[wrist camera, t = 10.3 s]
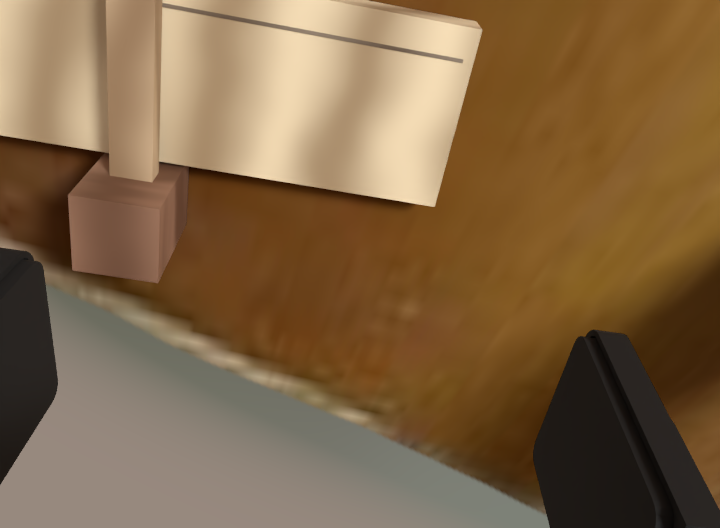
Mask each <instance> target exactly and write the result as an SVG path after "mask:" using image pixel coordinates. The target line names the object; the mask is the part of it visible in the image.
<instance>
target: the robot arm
mask: <svg viewBox="0 0 720 528" xmlns="http://www.w3.org/2000/svg"><path fill="white" fill-rule="evenodd" d="M57 386H58V378H57V370H56V362H55V355H54V347H53V339H52V333H51V324H50V317H49V308H48V301H47V293H46V285H45V278H44V270H43V266H42V264H41V263H40V262H38V261H34V259H33V257H32V255H31V253H29V252H27V251H20V250H13V249H6V248H0V484H1V483H2V481H3V479H4V477H5V476H6V475H7V473H8V471H9V470H10V468H11V467H12V465H13V464H14V462H15V460H16V459H17V457H18V456H19V454H20V452H21V451H22V449H23V448H24V446H25V445H26V443H27V441H28V440H29V438H30V437H31V435H32V434H33V432H34V430H35V429H36V427H37V426H38V424H39V422H40V421H41V419H42V418H43V416H44V414H45V413H46V411H47V410H48V408H49V407H50V405H51V403H52V402H53V400H54V398H55V395H56V391H57ZM533 460H534V465H535V469H536V473H537V477H538V481H539V485H540V489H541V493H542V497H543V501H544V505H545V509H546V513H547V517H548V521H549V525H550V528H720V510H719V508H718V506H717V504H716V502H715V501H714V499H713V497H712V495H711V493H710V491H709V489H708V487H707V485H706V483H705V481H704V480H703V478H702V476H701V474H700V472H699V470H698V468H697V466H696V464H695V462H694V460H693V459H692V457H691V455H690V453H689V451H688V449H687V447H686V445H685V443H684V441H683V439H682V437H681V436H680V434H679V432H678V430H677V428H676V426H675V424H674V423H673V421H672V420H671V419H670V417H669V415H668V413H667V411H666V409H665V407H664V405H663V404H662V402H661V400H660V398H659V396H658V394H657V392H656V390H655V388H654V386H653V384H652V382H651V380H650V379H649V377H648V375H647V373H646V371H645V369H644V367H643V365H642V363H641V361H640V359H639V357H638V356H637V354H636V352H635V350H634V348H633V346H632V344H631V342H630V340H629V338H628V337H627V336H626V335H624V334H621V333H613V332H606V331H599V330H591V331H590V332H589V333H588V334H587V335H586V337H583V336H580V337H578V338H577V339H576V341H575V343H574V346H573V348H572V351H571V353H570V356H569V358H568V361H567V363H566V366H565V368H564V371H563V373H562V376H561V378H560V381H559V383H558V386H557V388H556V391H555V394H554V396H553V399H552V401H551V404H550V406H549V409H548V411H547V414H546V416H545V419H544V421H543V424H542V426H541V429H540V431H539V434H538V436H537V439H536V441H535V445H534V451H533Z"/></svg>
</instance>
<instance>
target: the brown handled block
mask: <svg viewBox="0 0 720 528" xmlns="http://www.w3.org/2000/svg"><path fill="white" fill-rule="evenodd" d="M162 1H163V0H106V33H107V80H108V126H109V153H104V154H103V156H102V157H101V158H100V159H99V160H98V161H97V162H96V164H95V165H94V166H93V167H92V168H91V169H90V170H89V172H88V173H87V174H86V175H85V176H84V177H83V178H82V179H81V181H80V182H79V183H78V184H77V185H76V186H75V187H74V189H73V190H72V191H71V192H70V193H69V194H68V205H69V222H70V239H71V256H72V270H73V271H80V272H86V273H93V274H100V275H107V276H114V277H120V278H127V279H134V280H141V281H147V282H154V283H158V282H159V280H160V278H161V276H162V274H163V272H164V270H165V267H166V265H167V263H168V261H169V259H170V257H171V255H172V253H173V251H174V249H175V247H176V244H177V242H178V240H179V238H180V236H181V234H182V232H183V230H184V228H185V226H186V221H187V200H188V179H189V166H184V165H178V164H172V163H165V162H159V140H160V93H161V47H162Z"/></svg>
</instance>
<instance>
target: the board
mask: <svg viewBox="0 0 720 528" xmlns="http://www.w3.org/2000/svg"><path fill="white" fill-rule="evenodd" d="M481 33H482V29H481V27H480V26H479V24H478V23H477V22H476V21H471V20H466V19H461V18H456V17H451V16H445V15H440V14H435V13H430V12H425V11H420V10H415V9H409V8H404V7H399V6H394V5H389V4H384V3H379V2H373V1H368V0H163V1H162V47H161V93H160V140H159V162H165V163H172V164H178V165H184V166H190V167H196V168H202V169H208V170H214V171H220V172H226V173H232V174H238V175H244V176H250V177H256V178H262V179H268V180H275V181H281V182H287V183H293V184H299V185H305V186H311V187H317V188H323V189H329V190H335V191H341V192H347V193H353V194H359V195H365V196H371V197H378V198H384V199H390V200H396V201H402V202H408V203H414V204H420V205H426V206H432V207H435V203H436V200H437V196H438V192H439V189H440V185H441V181H442V177H443V174H444V170H445V166H446V163H447V159H448V155H449V152H450V148H451V144H452V140H453V137H454V133H455V129H456V126H457V122H458V118H459V115H460V111H461V107H462V104H463V100H464V96H465V92H466V89H467V85H468V81H469V78H470V74H471V70H472V67H473V63H474V59H475V55H476V52H477V48H478V44H479V41H480V37H481ZM0 135H2V136H8V137H14V138H20V139H26V140H32V141H38V142H44V143H50V144H56V145H62V146H68V147H75V148H81V149H87V150H93V151H99V152H105V153H109V126H108V80H107V33H106V0H0Z"/></svg>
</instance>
